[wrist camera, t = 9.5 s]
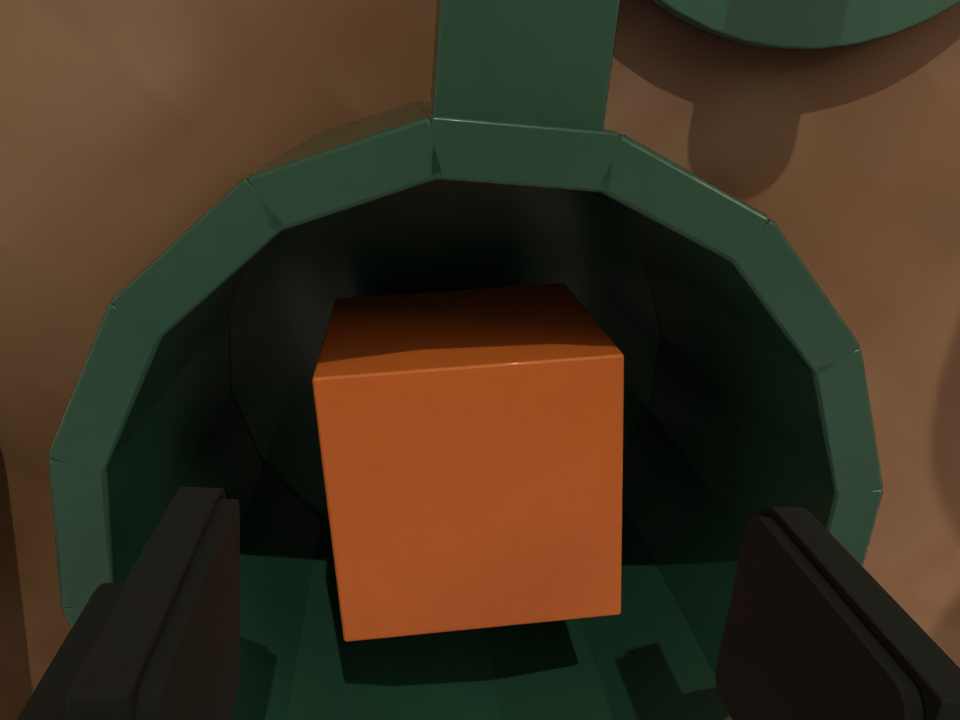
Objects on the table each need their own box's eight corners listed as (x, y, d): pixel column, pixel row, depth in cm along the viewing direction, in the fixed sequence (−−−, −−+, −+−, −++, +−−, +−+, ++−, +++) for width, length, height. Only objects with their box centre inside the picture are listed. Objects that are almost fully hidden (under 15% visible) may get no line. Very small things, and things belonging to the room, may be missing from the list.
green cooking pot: (739, 11, 19) (1032, -52, 10) (630, 642, 25) (759, 954, 16) (194, -49, 18) (-11, -181, 9) (208, 637, 24) (90, 977, 15)
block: (565, 282, 18) (624, 354, 13) (567, 486, 19) (622, 616, 15) (334, 297, 17) (310, 378, 13) (357, 504, 19) (343, 643, 14)
